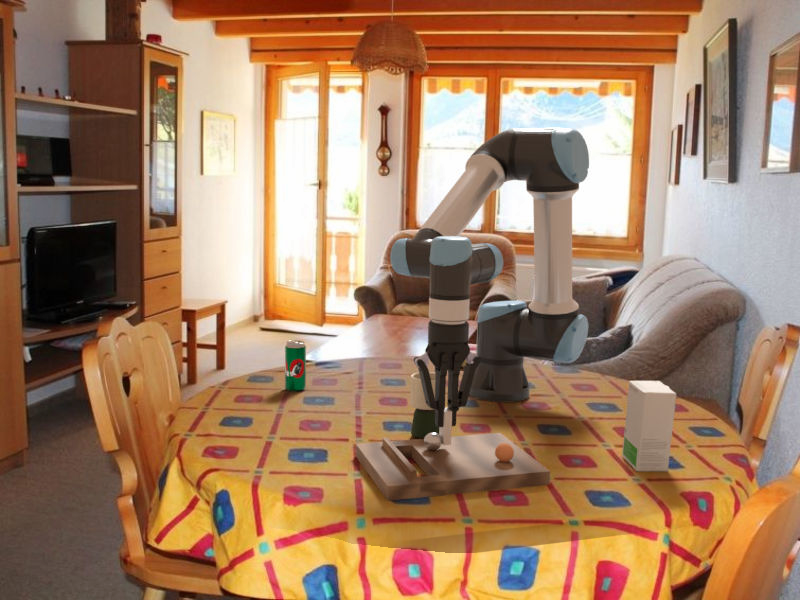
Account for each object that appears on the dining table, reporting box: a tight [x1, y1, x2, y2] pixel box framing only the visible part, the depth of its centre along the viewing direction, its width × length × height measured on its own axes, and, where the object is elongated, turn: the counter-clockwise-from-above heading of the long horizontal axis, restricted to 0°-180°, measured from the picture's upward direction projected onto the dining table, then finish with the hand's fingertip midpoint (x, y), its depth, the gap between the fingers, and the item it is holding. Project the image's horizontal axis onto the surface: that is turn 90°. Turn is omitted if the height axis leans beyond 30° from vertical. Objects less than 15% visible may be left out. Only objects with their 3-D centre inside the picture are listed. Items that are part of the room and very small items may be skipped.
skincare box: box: [621, 380, 677, 472], centre depth 159 cm, size 8×7×16 cm
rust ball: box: [495, 443, 514, 462], centre depth 153 cm, size 3×3×3 cm
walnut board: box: [355, 432, 551, 501], centre depth 155 cm, size 30×22×4 cm
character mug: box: [409, 371, 439, 439], centre depth 172 cm, size 11×7×13 cm, turn 7°
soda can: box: [284, 339, 307, 392], centre depth 206 cm, size 5×5×12 cm
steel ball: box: [423, 432, 442, 451], centre depth 158 cm, size 3×3×3 cm
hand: (445, 442), depth 158 cm, fingers closed
